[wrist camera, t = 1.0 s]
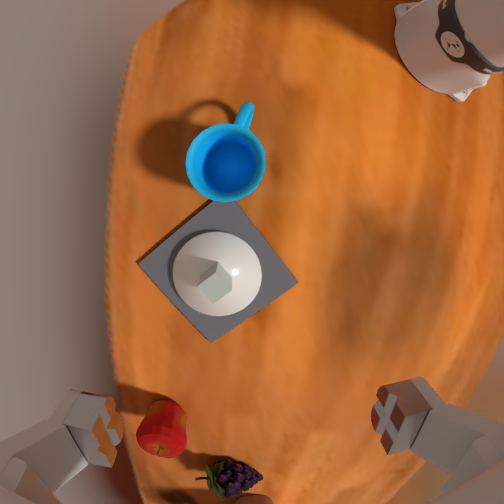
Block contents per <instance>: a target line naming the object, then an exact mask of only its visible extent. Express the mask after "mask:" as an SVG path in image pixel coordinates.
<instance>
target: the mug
mask: <svg viewBox="0 0 504 504" xmlns="http://www.w3.org/2000/svg"><path fill="white" fill-rule="evenodd" d="M253 113H254V105H253V104H252V103H251V102H245V103H244V104H243V105H242V106H241V108H240V110H239V112H238V114H237V116H236V118H235V121H234V123H233V124H227V123H224V124H219V125H213V126H211V127H209V128H207V129H205V130H204V131H202V132H201V133H200V134H199V135H198V136H197V137H196V138H195V139H194V140H193V141H192V143H191V145H190V147H189V149H188V151H187V157H186V163H185V164H186V170H187V176H188V178H189V180H190V182H191V184H192V186H193V187H194V188H195V189H196V190H197V191H198V192H199V193H200V194H201V195H203V196H205V197H207V198H209V199H211V200H213V201H220V202H230V201H236V200H239V199H241V198H243V197H245V196H247V195H249V194H251V193H252V192H253V191H254V190H255V189H256V188H257V187H258V185H259V183H260V181H261V179H262V177H263V175H264V171H265V165H266V159H265V153H264V149H263V147H262V145H261V143H260V141H259V139H258V138H257V137H256V136H255V135H254V134H253V133H252V132H251V131H250V130H249V127H250V124H251V121H252V117H253Z"/></svg>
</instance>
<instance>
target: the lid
mask: <svg viewBox="0 0 504 504" xmlns="http://www.w3.org/2000/svg"><path fill="white" fill-rule="evenodd" d="M261 279H262V272H261V266H260V262H259V259H258V256H257V255H256V253H255V251H254V250H253V248H252V247H251V246H250V245H249V244H248V243H247V242H246V241H245V240H243V239H242V238H240V237H239V236H236V235H234V234H232V233H229V232H224V231H209V232H204V233H201V234H198V235H197V236H195V237H193V238H191V239H190V240H189V241H188V242H186V243H185V244H184V246H183V247H182V248H181V249H180V251H179V253H178V254H177V256H176V259H175V261H174V265H173V281H174V285H175V288H176V290H177V292H178V294H179V295H180V297H181V298H182V299H183V301H184V302H185V303H186V304H187V305H189V306H190V307H191V308H193V309H194V310H196V311H198V312H200V313H203V314H206V315H211V316H226V315H231V314H234V313H236V312H239V311H241V310H242V309H244V308H245V307H247V306H248V305H249V304H250V303H251V302H252V301H253V299H254V298H255V297H256V295H257V293H258V291H259V288H260V285H261Z"/></svg>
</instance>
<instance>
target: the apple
mask: <svg viewBox="0 0 504 504" xmlns="http://www.w3.org/2000/svg"><path fill="white" fill-rule="evenodd" d="M136 437H137V442H138V444H139V445H140V447H141V448H142V449H144V450H145V451H146V452H148V453H150V454H153V455H156V456H159V457H165V458H175V457H177V456H179V455H180V454H181V453H182V452H183V450H184V449H185V448H186V446H187V435H186V413H185V412H184V410H183V409H182V408H181V407H180V406H179V405H178V404H177V403H175V402H173V401H171V400H166V399H164V400H159V401H155V402H153V403H152V404H150V405H149V408H148V411H147V414H146V416H145V418H144V419H143V421H142V422H141V424H140V426H139V427H138V429H137V432H136Z"/></svg>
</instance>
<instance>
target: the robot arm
mask: <svg viewBox="0 0 504 504" xmlns="http://www.w3.org/2000/svg"><path fill="white" fill-rule="evenodd" d="M406 9H407V10H406ZM394 12H395V16H396V20H397V22H396V27H395V34H394V36H395V44H396V47H397V50H398V53H399V55H400V57H401V59H402V61H403V63H404V64H405V66H406V67H407V69H408V70H409V71H410V73H411V74H412V75H413V76H414V77H415V78H416V79H417V80H418V81H419V82H421V83H422V84H423V85H425V86H426V87H428V88H430V89H432V90H434V91H437V92H440V93H445V94H447V95H449V96H450V97H452V98H453V99H454V100H456V101H457V102H463V101H465V100H466V98H467V97H468V96H469V94H470V93H471V91H472V90H473V89H475V88H478V87H482V86H484V85H486V82H487V81H488V79H489V77H490V75H491V74H497V73H500V72H503V71H504V0H422V1H420V2H413V3H403V4H398V5H396V6H395V7H394ZM376 396H377V398H378V399H379V400H378V401H377V402H376V403H375V404H374V405H373V408H372V412H371V421H372V425H373V428H374V430H375V432H377V433H379V434H381V435H382V437H381V440H380V442H381V443H382V445H383V447H384V449H385V451H386V453H387V455H390V454H394V453H397V452H401V451H404V450H408V449H410V450H411V451H413V452H414V453H416V454H417V455H419V456H420V457H422V458H423V459H425V460H426V461H428V462H430V463H431V464H433V465H434V466H436V467H437V468H439V469H441V470H442V471H444V472H446V473H447V474H449V477H448V478H447V479H446V480H445V482H444V483H443V484H442V486H441V490H442V492H443V494H442V495H440V496H437V497H436V498H433V499H431V500H429V501H426V502H424V503H422V504H504V424H502V423H499V422H497V421H494V420H491V419H488V418H486V417H483V416H480V415H478V414H475V413H472V412H470V411H467V410H464V409H462V408H459V407H457V406H454V405H452V404H447V405H446V404H445V403H444V402H443V400H442V399H441V398H440V397H439V396H438V394H437V393H436V392H435V391H434V390H433V388H432V387H431V386H430V385H429V384H428V382H427V381H426V380H425V379H424V378H423V377H416V378H413V379H409V380H405V381H401V382H397V383H392V384H388V385H383V386H381V387H380V388H379V389H378V392H377V395H376ZM115 407H116V403H115V401H114V398H113V397H111V396H107V395H101V394H95V393H89V392H84V391H83V392H82V391H78V390H73V389H70V390H67V391H66V393H65V394H64V396H63V397H62V399H61V401H60V402H59V404H58V406H57V407H56V409H55V410H54V412H53V413H52V415H51V417H50V418H49V420H48V421H47V420H43V421H41V422H39V423H37V424H35V425H33V426H31V427H29V428H27V429H25V430H24V431H21V432H19V433H17V434H15V435H14V436H12V437H9V438H7V439H5V440H3V441H1V442H0V504H62V503H61V502H60V501H59V500H58V499H57V498H56V497H55V496H54V495H53V493H54V492H55V491H56V490H58V489H59V488H60V487H61V486H62V485H64V484H65V483H66V482H67V481H69V480H70V479H71V478H72V477H74V476H75V475H76V474H77V473H78V472H79V471H80V470H82V469H83V468H84V467H86V466H87V465H88V463H91V464H96V465H101V466H106V467H112V466H113V463H114V460H115V457H116V454H117V451H116V449H115V447H114V446H116V445H117V444H118V443H120V442H121V439H122V436H123V423H122V419H121V416H120V415H119V414H118V413H117V412H116V411H115Z"/></svg>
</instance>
